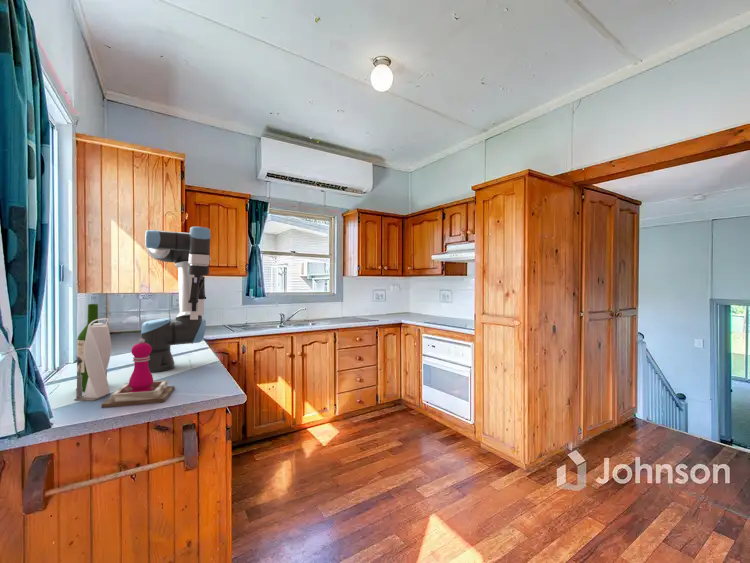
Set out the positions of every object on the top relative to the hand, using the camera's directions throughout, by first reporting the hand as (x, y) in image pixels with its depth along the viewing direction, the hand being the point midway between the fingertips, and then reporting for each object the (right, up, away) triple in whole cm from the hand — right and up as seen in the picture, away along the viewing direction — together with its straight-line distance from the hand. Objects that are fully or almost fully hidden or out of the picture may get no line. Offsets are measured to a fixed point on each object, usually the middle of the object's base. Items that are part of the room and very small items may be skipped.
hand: (197, 316), depth 138 cm
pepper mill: (-11, -26, -17) cm, 33 cm away
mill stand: (-11, -27, -17) cm, 34 cm away
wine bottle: (-37, -27, -7) cm, 47 cm away
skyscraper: (-28, -27, -17) cm, 42 cm away
